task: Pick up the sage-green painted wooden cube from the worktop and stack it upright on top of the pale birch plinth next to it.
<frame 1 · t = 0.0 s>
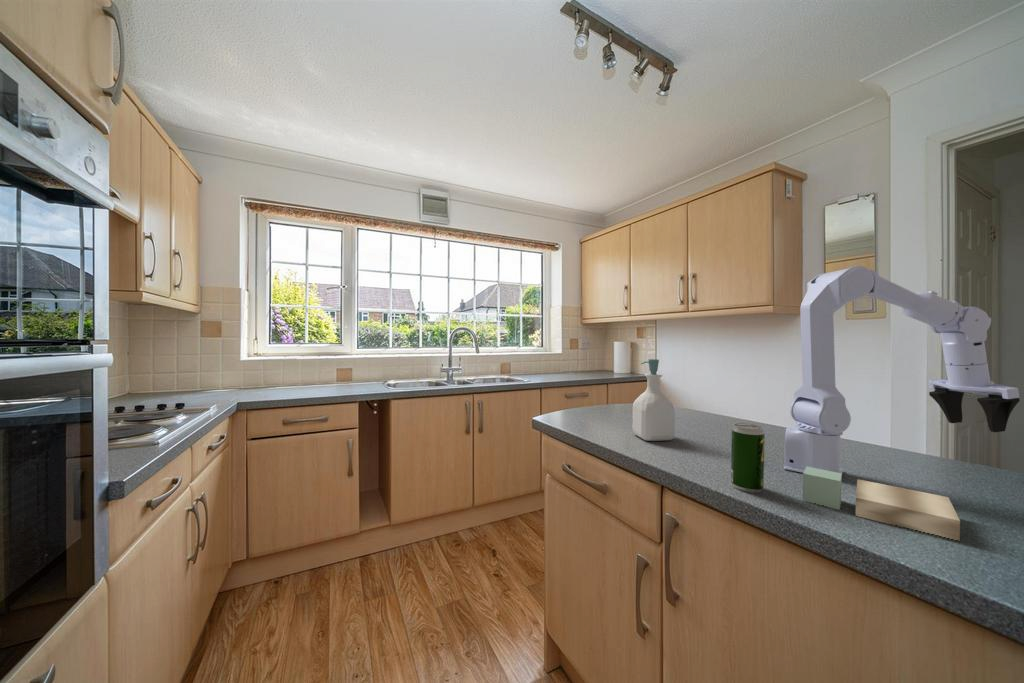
hand: (975, 426, 79), 11 cm above the worktop, tool pointing down, fingers open, 7 cm apart
green soda can: (746, 488, 72), on the worktop
sage cube: (821, 501, 67), on the worktop
soap bottle: (652, 438, 107), on the worktop
birch plinth: (901, 515, 61), on the worktop
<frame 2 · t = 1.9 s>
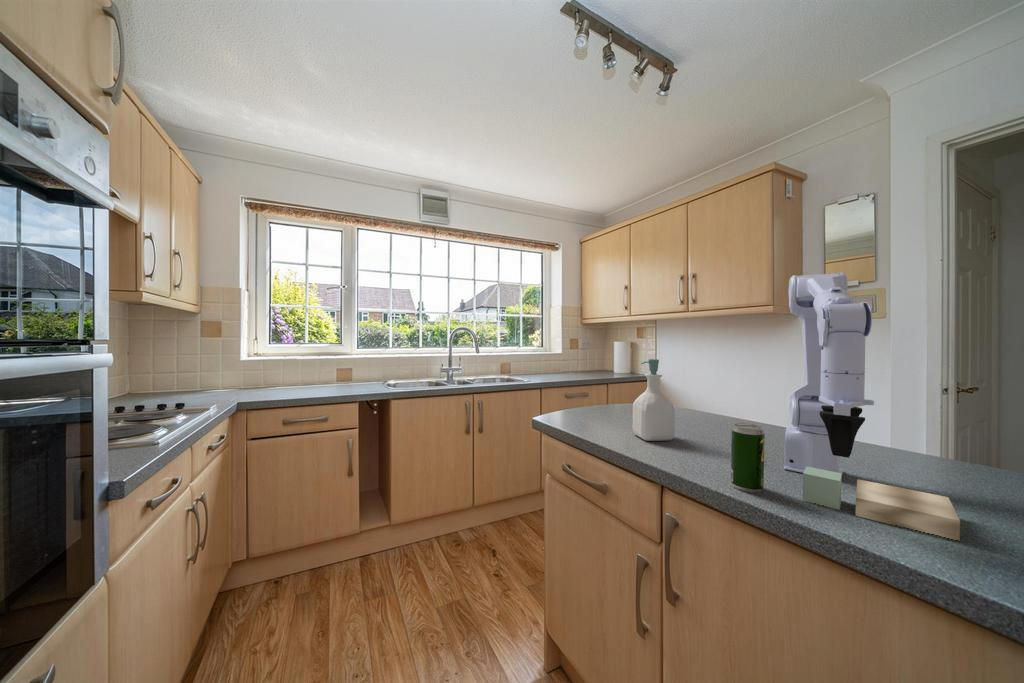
hand: (840, 450, 65), 10 cm above the worktop, tool pointing down, fingers open, 7 cm apart
nothing on the worktop moved.
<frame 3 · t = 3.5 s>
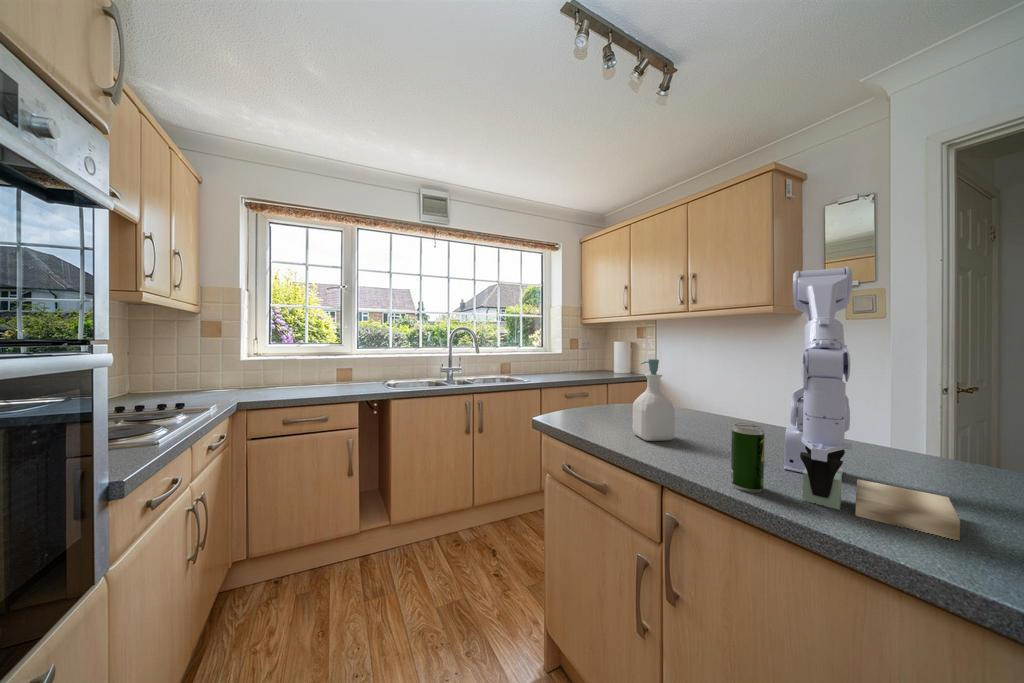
hand: (822, 491, 67), 2 cm above the worktop, tool pointing down, fingers closed on sage cube, 5 cm apart
sage cube: (821, 500, 67), on the worktop, touching gripper
everything else where it was.
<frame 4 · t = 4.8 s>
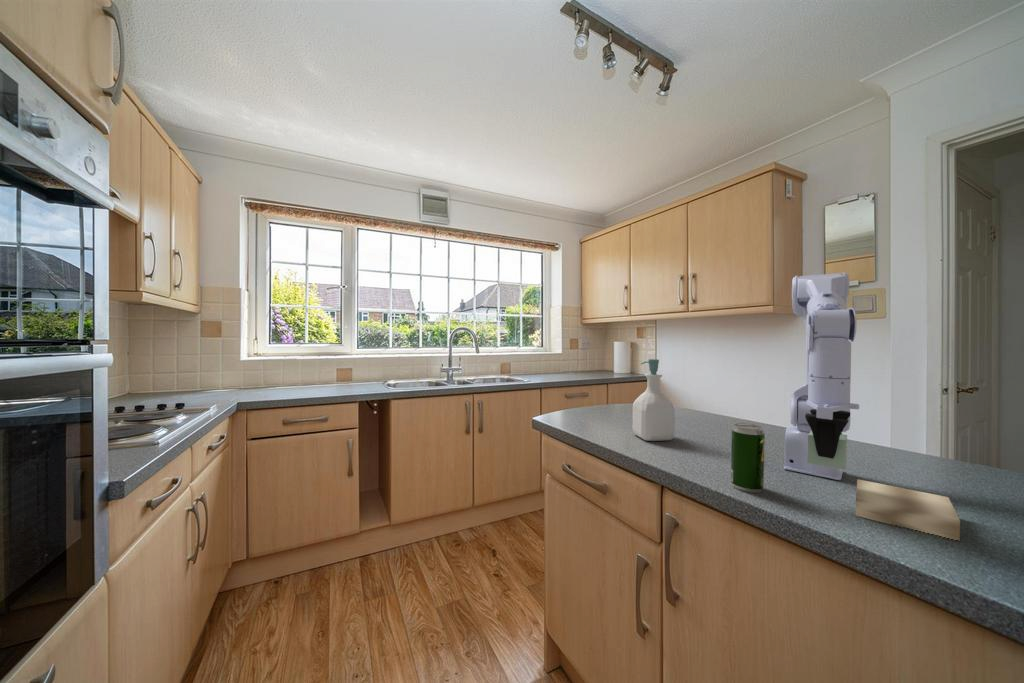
hand: (827, 453, 66), 9 cm above the worktop, tool pointing down, fingers closed on sage cube, 5 cm apart
sage cube: (827, 462, 66), point 7 cm above the worktop, touching gripper
everything else where it was.
when the fingers open (6 cm above the worktop, at t = 6.3 s): sage cube drops 1 cm, resting on birch plinth.
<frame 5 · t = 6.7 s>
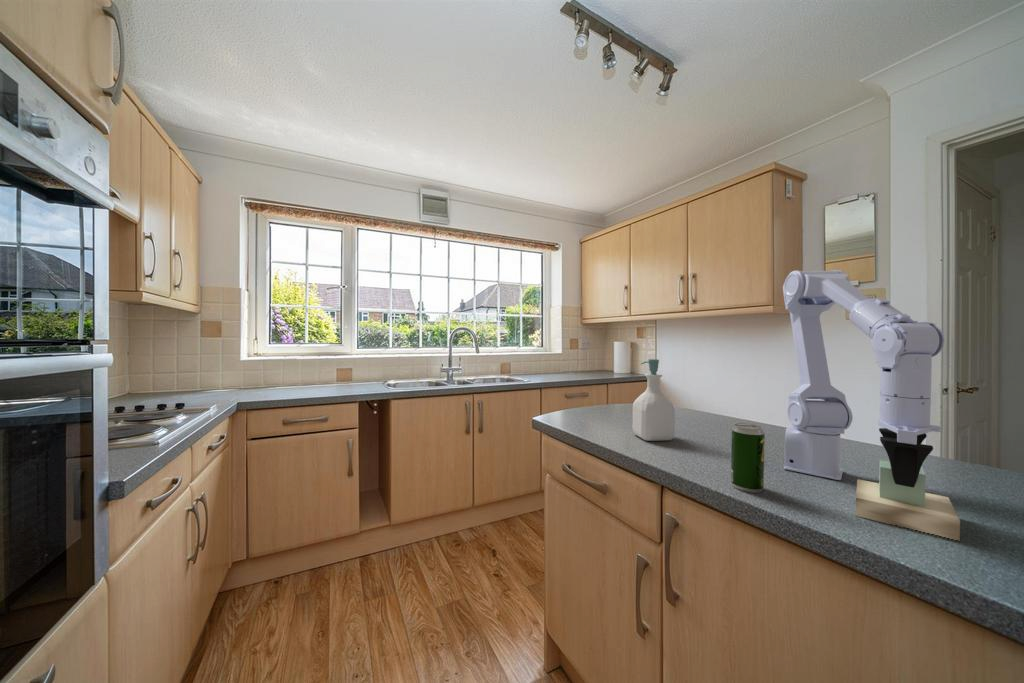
hand: (902, 478, 61), 6 cm above the worktop, tool pointing down, fingers open, 7 cm apart
sage cube: (900, 497, 61), point 3 cm above the worktop, touching birch plinth
everything else where it was.
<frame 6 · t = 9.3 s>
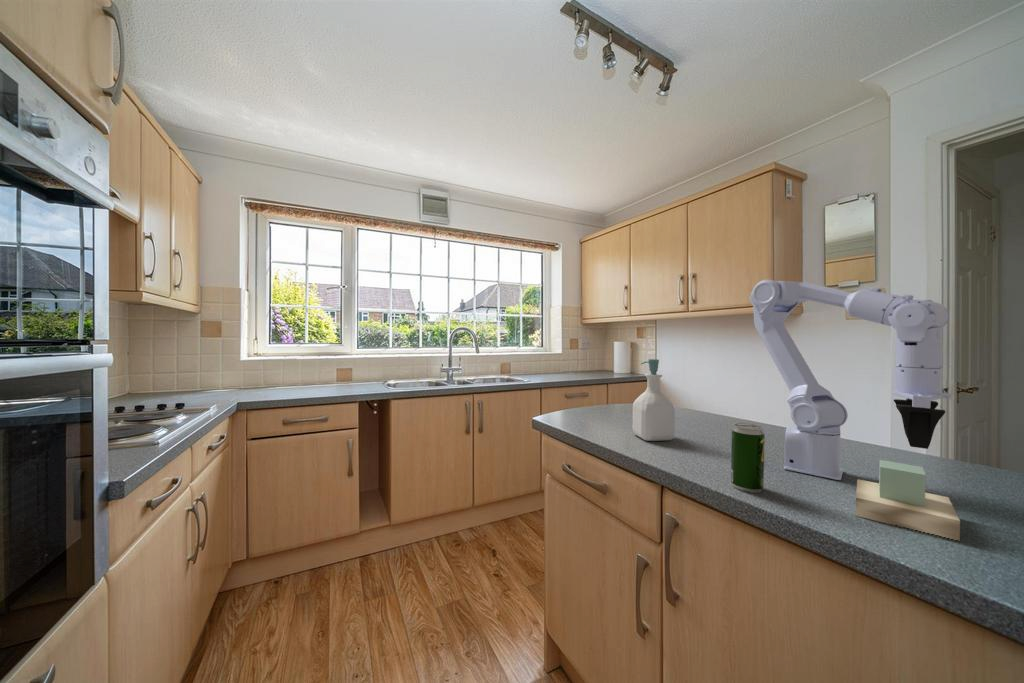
hand: (916, 442, 67), 10 cm above the worktop, tool pointing down, fingers open, 7 cm apart
nothing on the worktop moved.
at the end: sage cube 0.2 cm off-centre on the birch plinth, point 3.0 cm above the birch plinth's base; sage cube tilted 0°; the gripper is holding nothing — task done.
